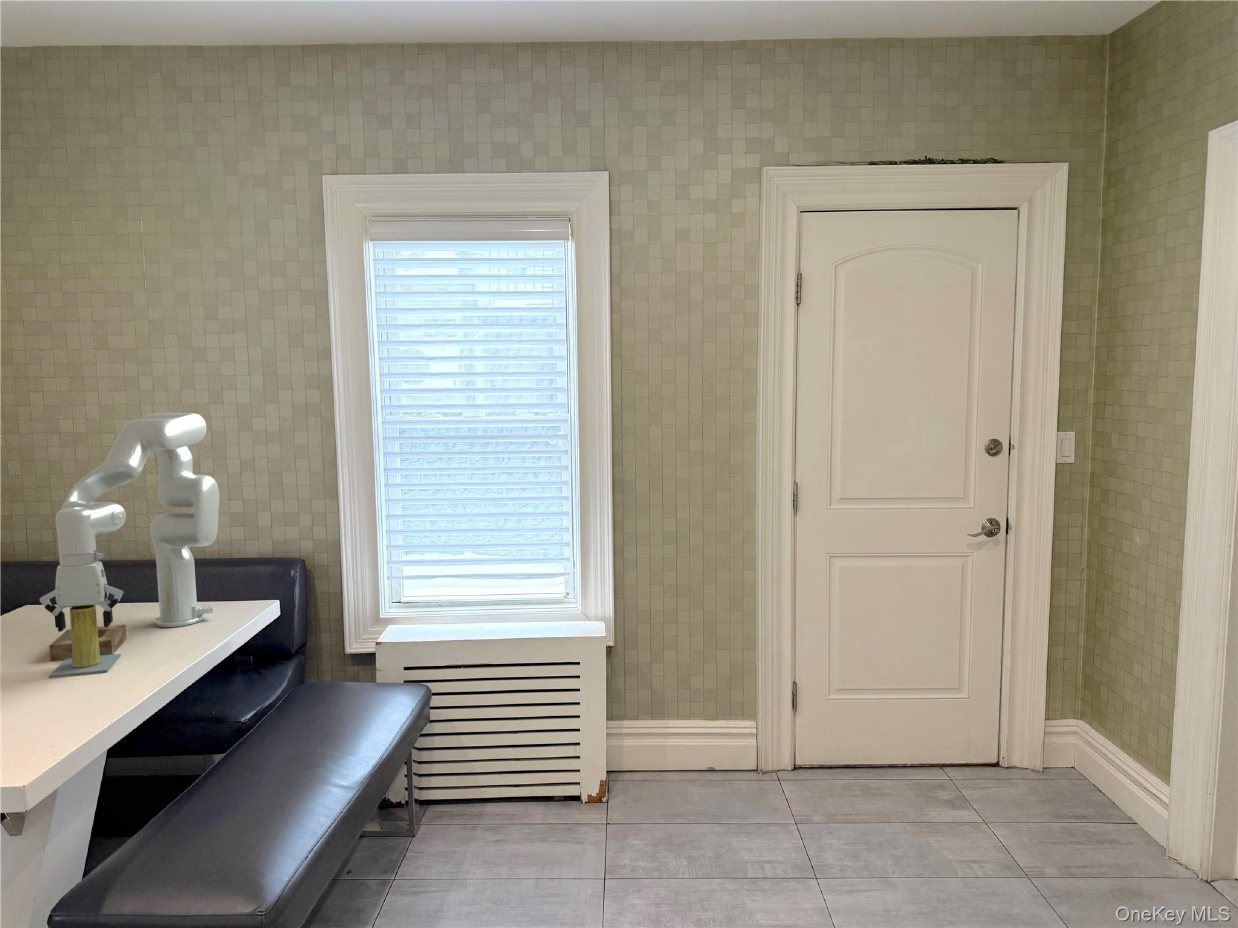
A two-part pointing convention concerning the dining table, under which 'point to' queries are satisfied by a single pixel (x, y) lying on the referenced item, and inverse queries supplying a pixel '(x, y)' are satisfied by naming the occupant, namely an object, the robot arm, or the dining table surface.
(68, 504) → the robot arm
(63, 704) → the dining table surface
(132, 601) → the dining table surface
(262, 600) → the dining table surface
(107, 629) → the collar
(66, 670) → the mat
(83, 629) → the vase
